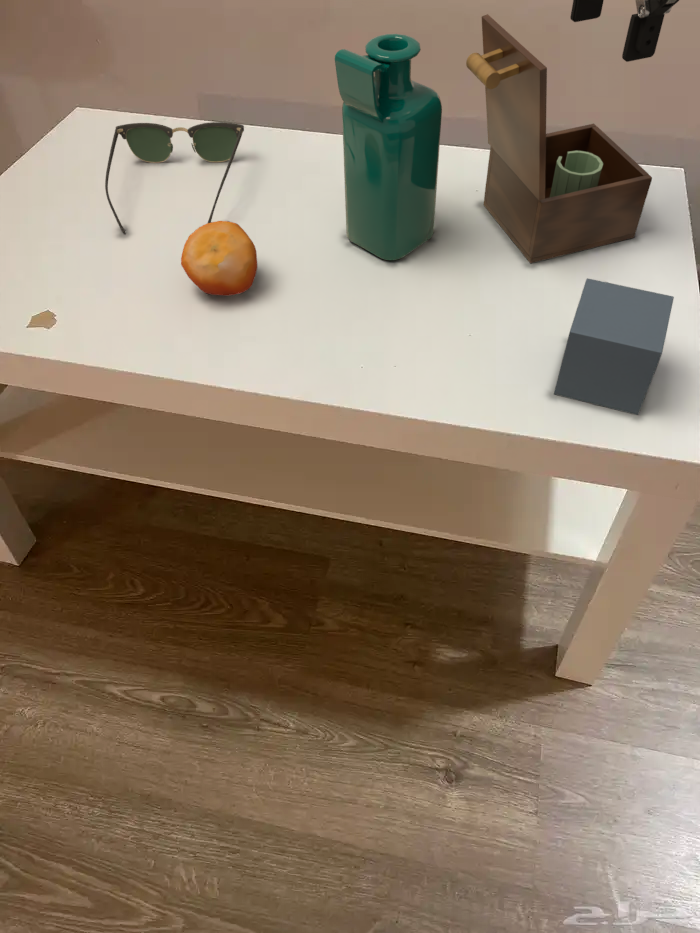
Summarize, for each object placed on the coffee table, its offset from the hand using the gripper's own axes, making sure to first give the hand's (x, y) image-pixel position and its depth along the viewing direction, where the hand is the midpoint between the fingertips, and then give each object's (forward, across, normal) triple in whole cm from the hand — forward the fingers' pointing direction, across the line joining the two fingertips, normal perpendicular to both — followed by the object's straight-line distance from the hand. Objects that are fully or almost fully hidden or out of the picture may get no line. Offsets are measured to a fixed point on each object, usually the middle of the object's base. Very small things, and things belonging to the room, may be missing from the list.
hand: (610, 37), depth 77 cm
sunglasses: (+20, +23, +43) cm, 53 cm away
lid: (+5, 0, +9) cm, 11 cm away
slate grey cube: (+21, -24, +10) cm, 33 cm away
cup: (+20, +1, 0) cm, 20 cm away
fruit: (+21, +3, +42) cm, 47 cm away
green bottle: (+21, +5, +22) cm, 30 cm away
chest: (+21, +1, +2) cm, 21 cm away
